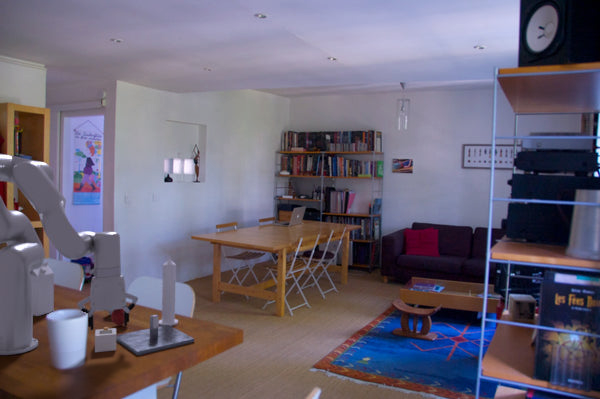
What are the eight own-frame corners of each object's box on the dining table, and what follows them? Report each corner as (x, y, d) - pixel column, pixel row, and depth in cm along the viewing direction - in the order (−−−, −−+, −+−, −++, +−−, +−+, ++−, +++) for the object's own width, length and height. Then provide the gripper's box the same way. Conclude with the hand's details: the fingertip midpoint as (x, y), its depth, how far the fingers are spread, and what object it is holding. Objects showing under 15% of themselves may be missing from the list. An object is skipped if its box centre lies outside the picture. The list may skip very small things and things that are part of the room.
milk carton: (23, 313, 177) (24, 263, 176) (40, 309, 184) (40, 261, 183) (37, 316, 174) (37, 265, 174) (53, 311, 181) (54, 262, 180)
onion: (122, 329, 163) (122, 306, 163) (107, 327, 165) (108, 305, 164) (131, 324, 169) (132, 302, 169) (117, 322, 170) (117, 301, 170)
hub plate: (137, 355, 140) (137, 328, 140) (114, 339, 154) (114, 314, 153) (194, 342, 153) (194, 317, 153) (168, 328, 166) (168, 305, 166)
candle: (182, 322, 174) (183, 255, 172) (169, 327, 167) (170, 257, 166) (167, 319, 177) (168, 253, 175) (153, 324, 170) (155, 255, 169)
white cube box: (94, 352, 142) (95, 334, 142) (95, 345, 148) (95, 327, 147) (116, 350, 144) (116, 332, 144) (115, 343, 150) (116, 326, 150)
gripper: (75, 276, 138) (77, 334, 139) (138, 272, 145) (139, 326, 145) (77, 272, 145) (79, 326, 146) (136, 267, 152) (137, 320, 152)
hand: (109, 326), depth 146 cm, fingers open, 9 cm apart
